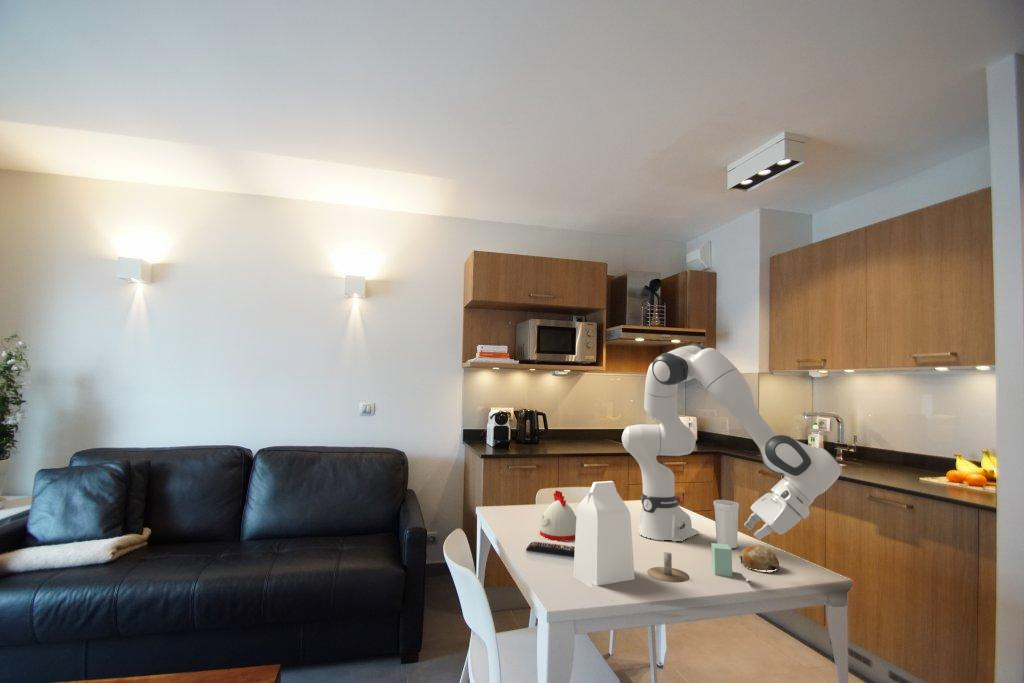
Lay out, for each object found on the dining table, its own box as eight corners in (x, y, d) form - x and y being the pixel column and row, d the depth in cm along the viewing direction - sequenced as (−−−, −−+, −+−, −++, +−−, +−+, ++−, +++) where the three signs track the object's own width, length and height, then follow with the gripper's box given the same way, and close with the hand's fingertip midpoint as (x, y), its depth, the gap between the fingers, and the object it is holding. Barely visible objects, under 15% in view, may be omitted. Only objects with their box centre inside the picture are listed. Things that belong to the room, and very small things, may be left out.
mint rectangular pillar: (711, 572, 136) (711, 543, 137) (728, 573, 135) (727, 544, 136) (715, 578, 132) (714, 548, 133) (732, 579, 131) (731, 549, 132)
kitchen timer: (568, 528, 180) (568, 486, 181) (586, 539, 167) (586, 494, 168) (533, 531, 175) (534, 488, 176) (549, 542, 162) (550, 496, 164)
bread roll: (758, 586, 138) (768, 564, 135) (729, 560, 146) (738, 538, 144) (779, 581, 142) (790, 559, 140) (751, 555, 151) (760, 534, 148)
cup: (738, 552, 156) (737, 506, 157) (711, 547, 160) (711, 503, 162) (741, 545, 163) (740, 501, 164) (716, 541, 167) (715, 498, 168)
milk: (596, 591, 123) (596, 487, 126) (573, 575, 134) (573, 479, 136) (634, 585, 128) (634, 484, 130) (609, 569, 138) (609, 477, 141)
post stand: (665, 569, 139) (664, 544, 140) (698, 582, 130) (697, 555, 131) (638, 577, 133) (638, 550, 134) (671, 591, 124) (670, 563, 125)
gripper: (767, 482, 143) (733, 514, 144) (792, 497, 123) (751, 533, 124) (784, 498, 141) (749, 530, 143) (812, 516, 122) (771, 553, 123)
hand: (750, 532), depth 133 cm, fingers open, 8 cm apart
